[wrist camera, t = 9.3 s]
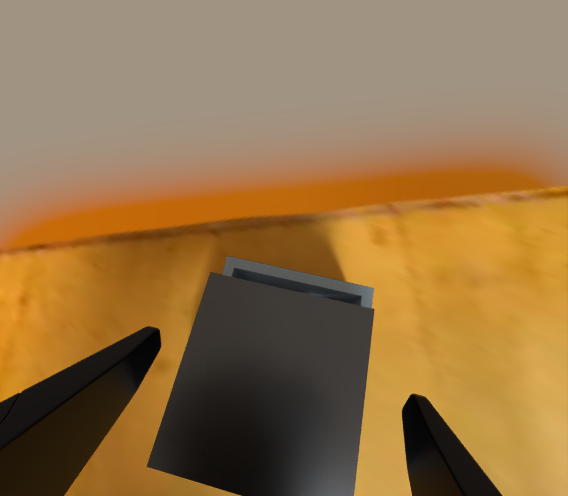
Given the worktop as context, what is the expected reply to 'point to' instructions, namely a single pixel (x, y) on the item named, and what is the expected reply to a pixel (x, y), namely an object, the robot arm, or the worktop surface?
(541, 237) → the worktop surface
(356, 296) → the box
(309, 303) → the dark square pedestal
